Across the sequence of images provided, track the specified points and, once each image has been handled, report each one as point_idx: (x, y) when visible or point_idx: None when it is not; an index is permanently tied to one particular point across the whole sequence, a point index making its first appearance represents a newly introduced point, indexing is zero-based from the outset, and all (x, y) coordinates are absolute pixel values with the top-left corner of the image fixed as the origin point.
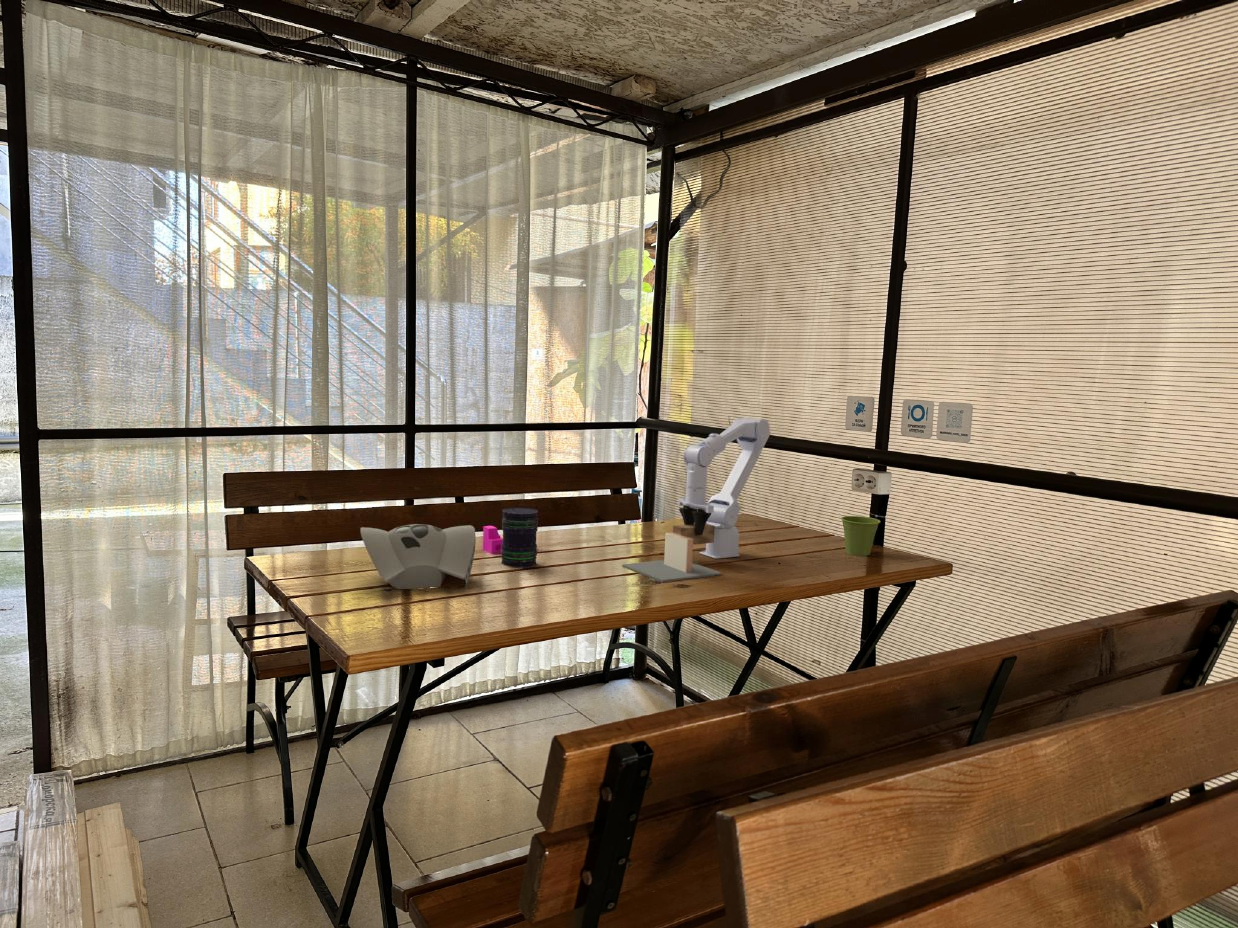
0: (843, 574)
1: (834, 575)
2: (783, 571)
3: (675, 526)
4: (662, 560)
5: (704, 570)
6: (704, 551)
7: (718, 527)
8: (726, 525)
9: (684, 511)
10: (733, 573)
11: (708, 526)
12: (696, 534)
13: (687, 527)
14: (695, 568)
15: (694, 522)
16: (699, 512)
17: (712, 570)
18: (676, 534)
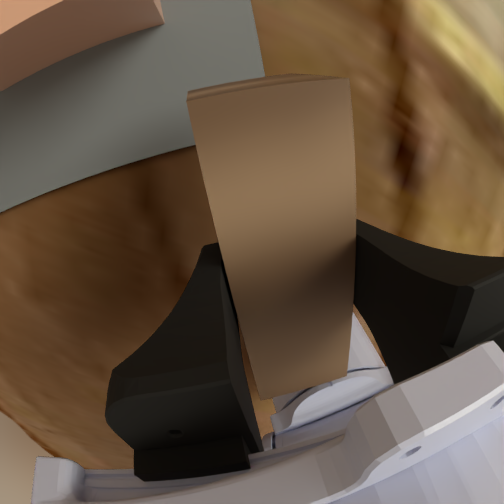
0: (72, 451)
1: (60, 440)
2: (72, 393)
3: (305, 80)
4: (244, 14)
5: (14, 156)
6: None
7: (293, 403)
8: (263, 436)
9: (441, 295)
10: (18, 264)
11: (253, 370)
12: (203, 248)
13: (224, 193)
14: (48, 125)
15: (221, 294)
16: (111, 425)
17: (15, 192)
18: (26, 3)
